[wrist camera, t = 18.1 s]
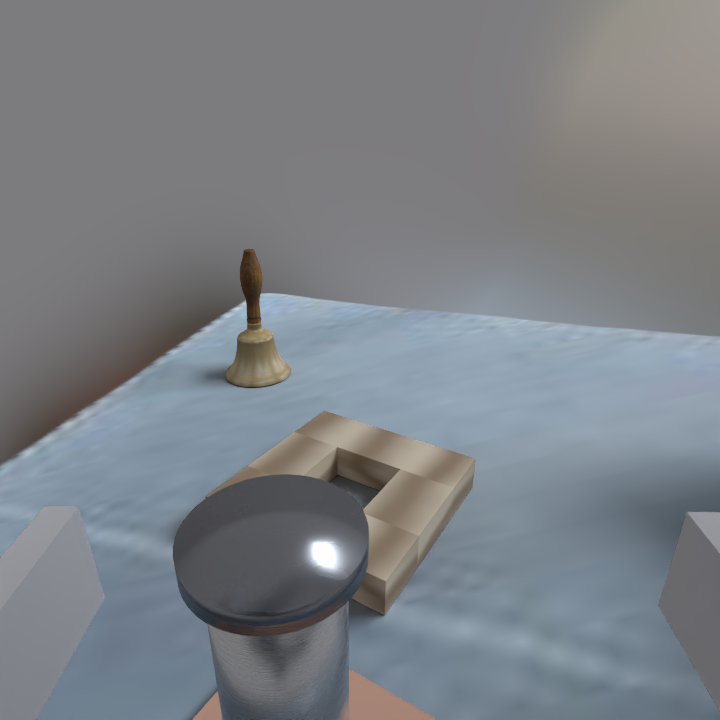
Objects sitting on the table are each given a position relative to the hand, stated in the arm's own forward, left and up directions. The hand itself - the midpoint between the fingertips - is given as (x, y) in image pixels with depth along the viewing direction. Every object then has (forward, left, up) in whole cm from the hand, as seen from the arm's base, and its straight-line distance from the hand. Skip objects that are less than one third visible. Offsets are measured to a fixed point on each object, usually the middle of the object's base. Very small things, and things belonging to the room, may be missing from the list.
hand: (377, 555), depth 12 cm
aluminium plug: (+5, -2, -20) cm, 21 cm away
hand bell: (+39, -39, -21) cm, 59 cm away
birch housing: (+15, -23, -21) cm, 34 cm away
